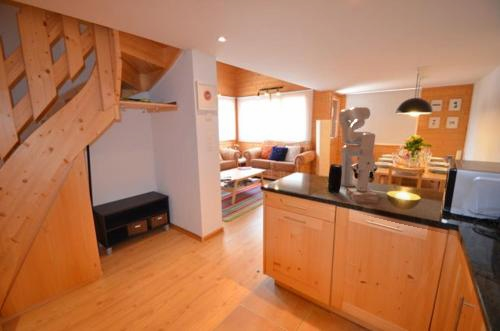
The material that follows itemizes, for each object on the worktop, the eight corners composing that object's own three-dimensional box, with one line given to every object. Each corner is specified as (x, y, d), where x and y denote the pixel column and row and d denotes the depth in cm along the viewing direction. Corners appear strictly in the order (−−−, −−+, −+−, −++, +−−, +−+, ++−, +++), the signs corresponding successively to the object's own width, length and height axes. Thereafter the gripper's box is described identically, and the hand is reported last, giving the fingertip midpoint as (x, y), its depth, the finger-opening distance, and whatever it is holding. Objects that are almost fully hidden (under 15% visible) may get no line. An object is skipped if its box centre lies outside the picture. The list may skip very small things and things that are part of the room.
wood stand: (345, 194, 157) (346, 187, 156) (365, 194, 157) (366, 188, 156) (355, 202, 144) (356, 194, 142) (377, 202, 144) (378, 195, 143)
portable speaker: (332, 194, 158) (335, 166, 154) (324, 189, 167) (326, 164, 163) (343, 193, 161) (345, 166, 156) (334, 188, 170) (337, 163, 165)
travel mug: (361, 193, 146) (365, 162, 141) (354, 190, 152) (357, 160, 147) (369, 192, 147) (373, 162, 143) (361, 189, 154) (365, 160, 149)
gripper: (355, 153, 140) (352, 180, 144) (383, 153, 140) (379, 180, 144) (350, 151, 147) (347, 176, 151) (376, 151, 148) (373, 177, 151)
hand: (363, 178), depth 148 cm, fingers open, 9 cm apart
